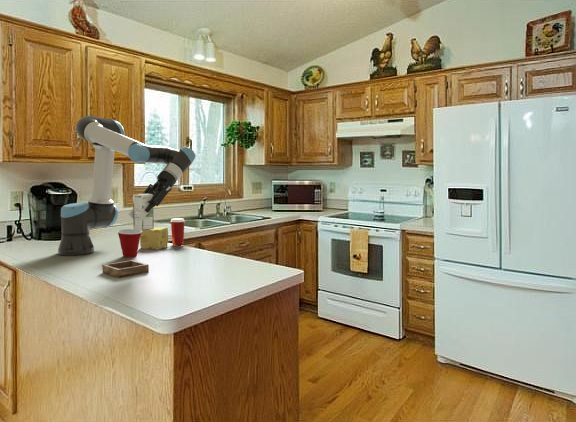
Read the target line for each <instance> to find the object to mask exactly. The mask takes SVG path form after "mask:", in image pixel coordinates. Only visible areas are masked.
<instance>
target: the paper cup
mask: <svg viewBox="0 0 576 422" xmlns="http://www.w3.org/2000/svg"><path fill="white" fill-rule="evenodd" d="M185 222H186V221H185V218H180V217H179V218H177V217H176V218H175V217H174V218H171V219H170V229H171V242H172V246H175V247H176V246H177V247H178V246H183V245H184V240H185V239H184V237H185Z"/></svg>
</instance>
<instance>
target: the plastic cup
mask: <svg viewBox="0 0 576 422" xmlns="http://www.w3.org/2000/svg"><path fill="white" fill-rule="evenodd" d="M116 232H117V234H118V238H119V244H120V249H121V251H122V252H121V253H122V257H124V258H135V257H137V255H138V252H139V251H138V250H139V245H140V236H141V233H142V232H143V231H141V230H134V228H124V229H122V228H121V229H118V230H116Z"/></svg>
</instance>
